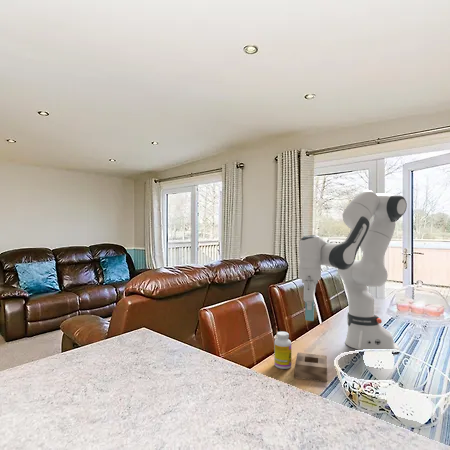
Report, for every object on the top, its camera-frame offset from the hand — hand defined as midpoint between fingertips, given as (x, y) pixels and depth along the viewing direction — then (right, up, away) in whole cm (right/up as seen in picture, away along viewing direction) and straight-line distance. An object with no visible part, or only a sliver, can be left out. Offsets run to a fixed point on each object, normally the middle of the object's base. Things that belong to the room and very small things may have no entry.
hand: (309, 308), depth 130 cm
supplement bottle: (-12, -22, -5) cm, 25 cm away
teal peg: (0, -5, 0) cm, 5 cm away
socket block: (-2, -21, -12) cm, 24 cm away
